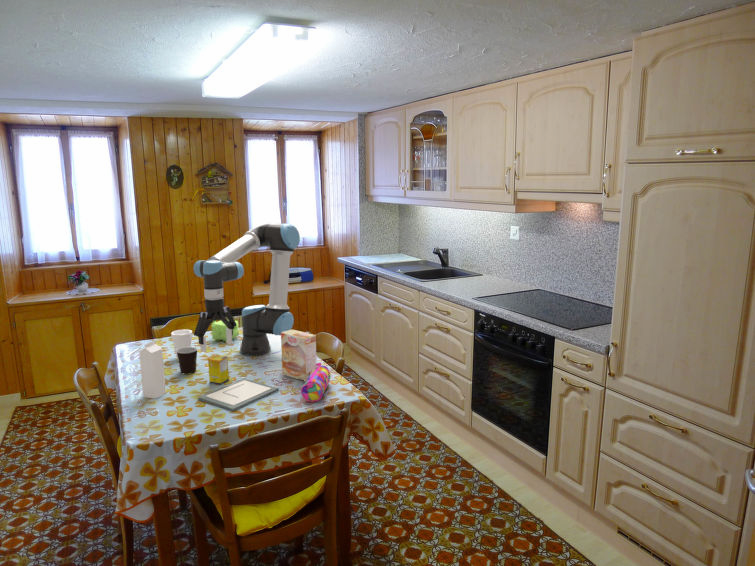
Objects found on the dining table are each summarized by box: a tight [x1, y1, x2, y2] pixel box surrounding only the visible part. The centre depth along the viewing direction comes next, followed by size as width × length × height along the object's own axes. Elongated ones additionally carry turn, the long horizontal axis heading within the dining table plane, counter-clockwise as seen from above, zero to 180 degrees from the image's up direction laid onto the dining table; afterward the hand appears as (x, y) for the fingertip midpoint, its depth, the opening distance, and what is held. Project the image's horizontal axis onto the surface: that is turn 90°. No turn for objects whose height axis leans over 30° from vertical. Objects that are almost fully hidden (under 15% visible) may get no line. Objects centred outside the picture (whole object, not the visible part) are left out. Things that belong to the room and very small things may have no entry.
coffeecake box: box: [280, 328, 317, 382], centre depth 229 cm, size 15×7×20 cm, turn 53°
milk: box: [139, 340, 167, 400], centre depth 208 cm, size 6×6×22 cm
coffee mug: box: [177, 346, 198, 375], centre depth 237 cm, size 12×9×10 cm
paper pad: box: [197, 378, 280, 412], centre depth 211 cm, size 24×20×1 cm
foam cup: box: [170, 329, 193, 360], centre depth 253 cm, size 10×9×13 cm
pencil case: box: [300, 362, 331, 403], centre depth 212 cm, size 22×9×9 cm, turn 179°
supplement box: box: [207, 354, 230, 386], centre depth 224 cm, size 6×6×11 cm
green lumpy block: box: [211, 318, 240, 343], centre depth 284 cm, size 15×14×11 cm
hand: (216, 347), depth 221 cm, fingers open, 13 cm apart
